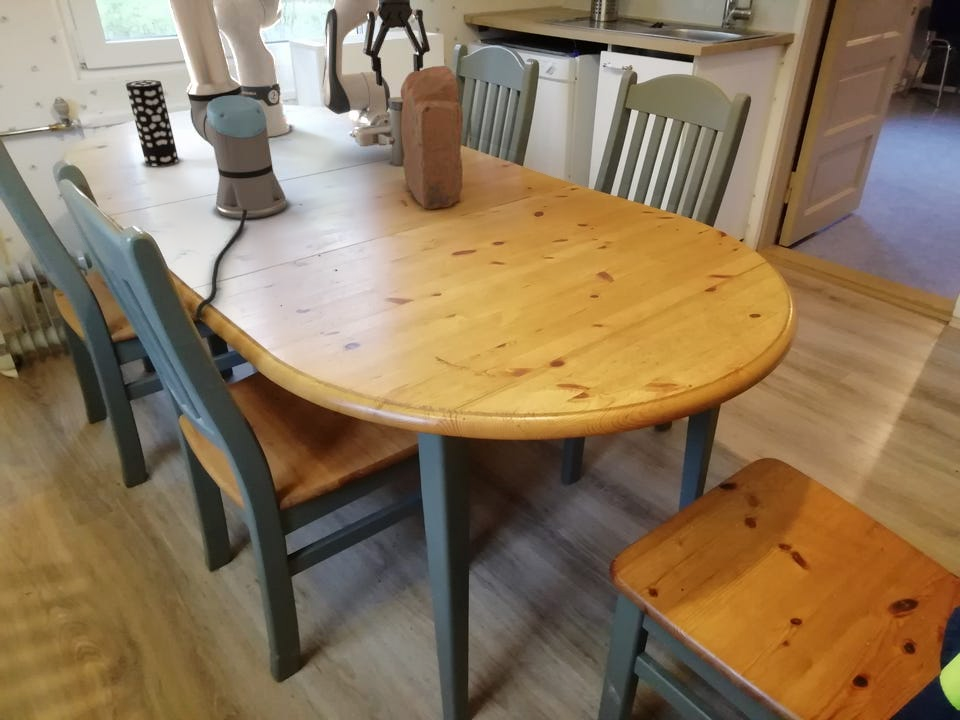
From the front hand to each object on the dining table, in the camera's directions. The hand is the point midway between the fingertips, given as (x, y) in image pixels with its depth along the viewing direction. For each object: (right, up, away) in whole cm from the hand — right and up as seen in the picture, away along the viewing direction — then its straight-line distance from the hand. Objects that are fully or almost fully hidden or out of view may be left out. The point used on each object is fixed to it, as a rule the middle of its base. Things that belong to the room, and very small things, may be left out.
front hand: (398, 83), depth 177 cm
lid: (0, -4, +2) cm, 4 cm away
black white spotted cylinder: (-65, -9, +4) cm, 66 cm away
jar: (0, -17, +11) cm, 21 cm away
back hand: (0, -12, +7) cm, 14 cm away
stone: (+10, -31, -10) cm, 34 cm away
